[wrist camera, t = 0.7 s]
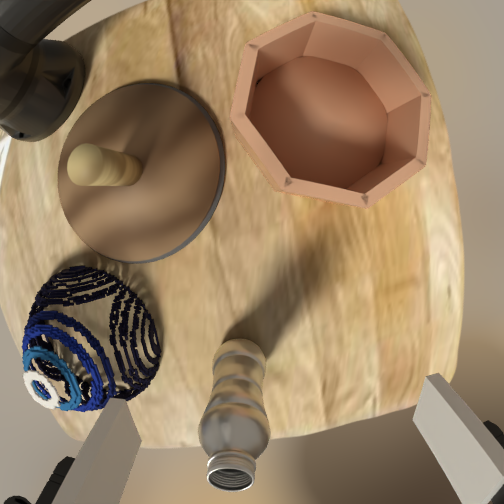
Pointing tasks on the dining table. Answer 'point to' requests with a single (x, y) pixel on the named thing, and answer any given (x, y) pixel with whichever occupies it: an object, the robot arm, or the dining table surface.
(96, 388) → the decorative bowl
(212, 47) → the dining table surface
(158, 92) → the lid
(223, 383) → the plastic bottle
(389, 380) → the dining table surface
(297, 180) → the bowl
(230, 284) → the dining table surface
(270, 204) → the dining table surface
